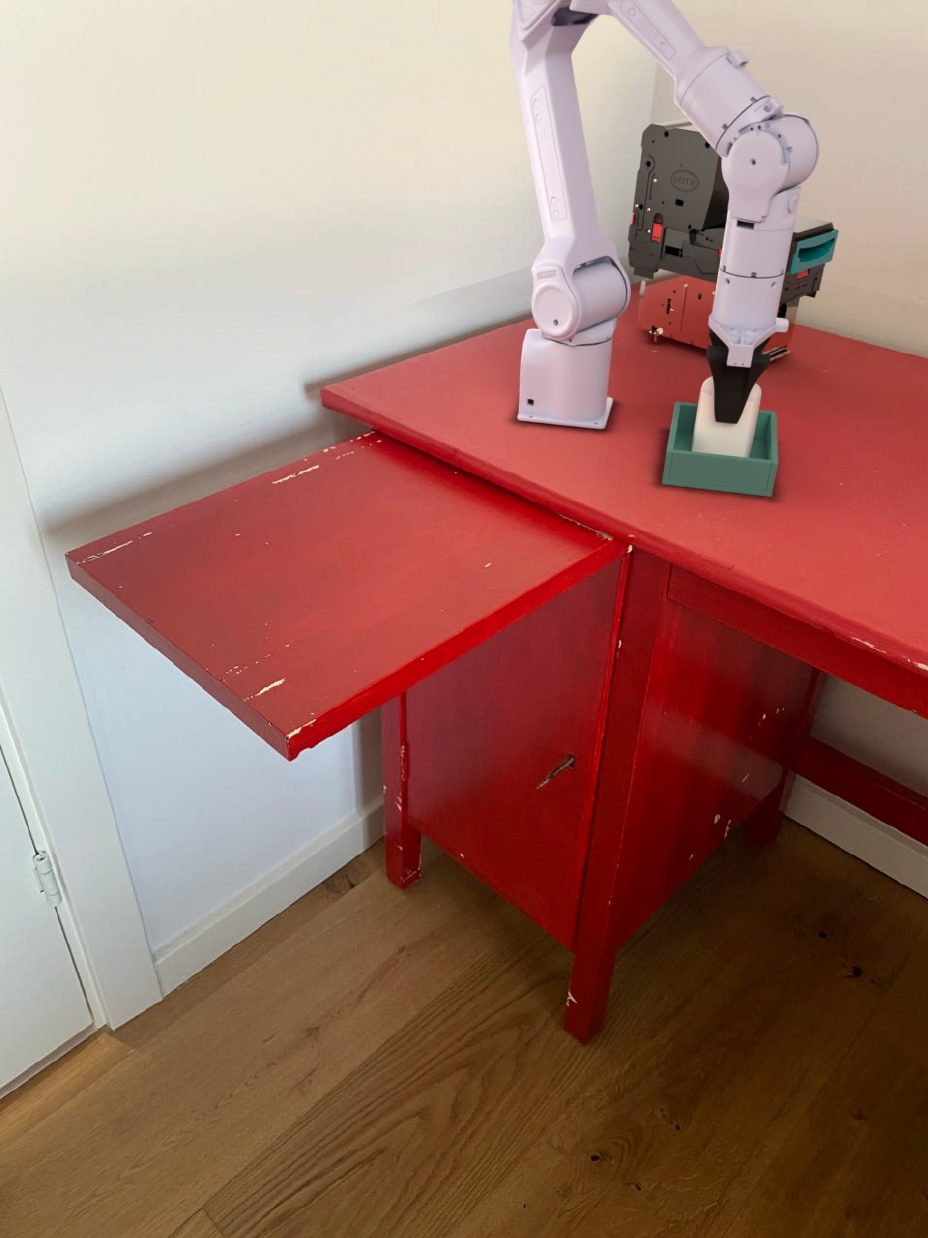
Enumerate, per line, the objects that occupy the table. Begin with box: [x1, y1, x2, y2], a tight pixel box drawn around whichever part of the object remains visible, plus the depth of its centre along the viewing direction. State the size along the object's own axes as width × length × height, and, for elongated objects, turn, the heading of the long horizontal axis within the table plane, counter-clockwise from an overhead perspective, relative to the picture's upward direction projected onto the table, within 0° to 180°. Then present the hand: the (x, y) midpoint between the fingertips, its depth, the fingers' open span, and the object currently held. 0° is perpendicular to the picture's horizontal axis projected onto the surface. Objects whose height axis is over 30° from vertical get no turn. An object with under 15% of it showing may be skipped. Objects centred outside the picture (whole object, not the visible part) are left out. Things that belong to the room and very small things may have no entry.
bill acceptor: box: [627, 117, 840, 363], centre depth 118 cm, size 10×23×25 cm, turn 44°
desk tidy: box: [661, 401, 779, 498], centre depth 96 cm, size 10×12×4 cm
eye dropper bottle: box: [691, 375, 763, 458], centre depth 94 cm, size 4×6×12 cm
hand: (727, 412), depth 94 cm, fingers closed on eye dropper bottle, 4 cm apart
